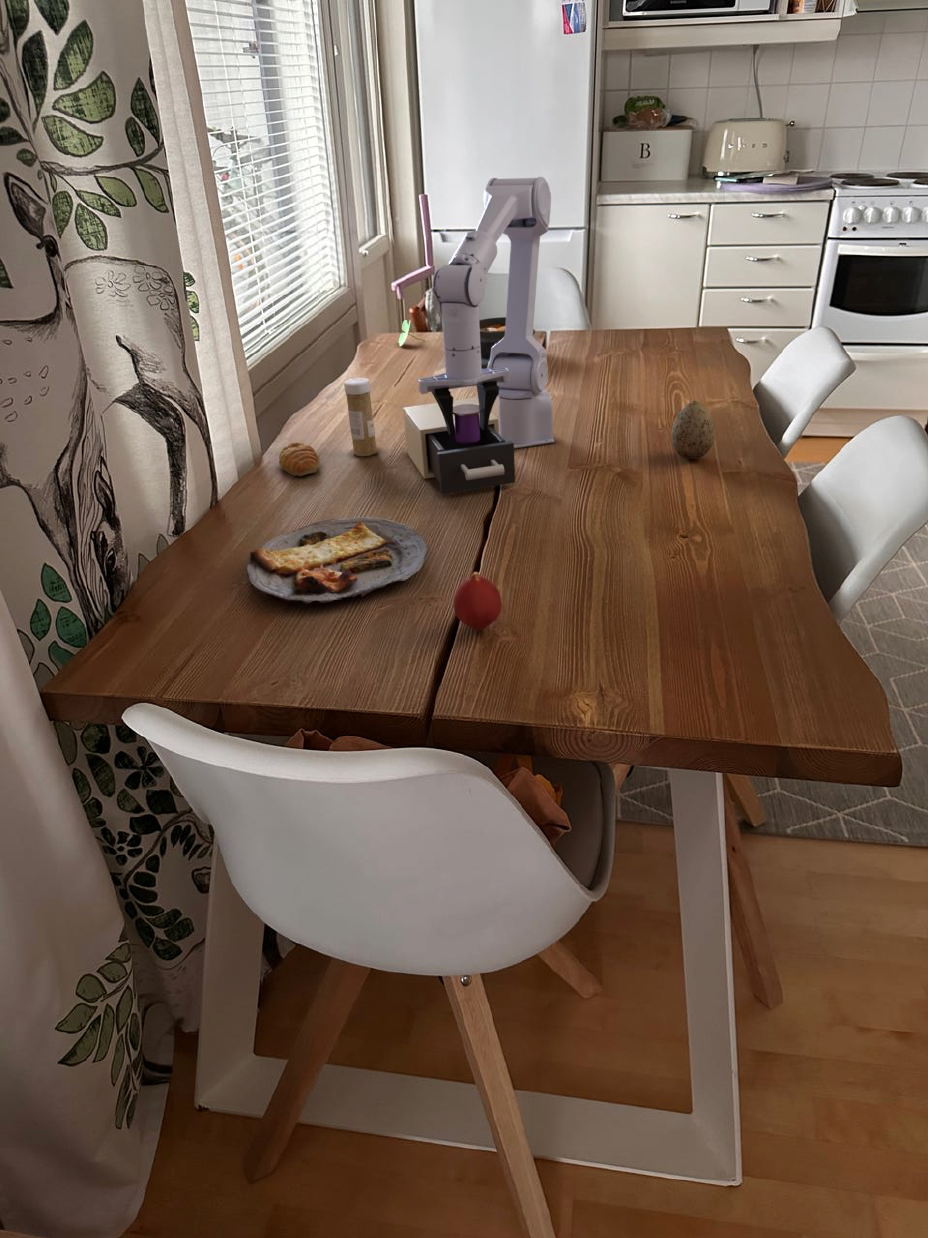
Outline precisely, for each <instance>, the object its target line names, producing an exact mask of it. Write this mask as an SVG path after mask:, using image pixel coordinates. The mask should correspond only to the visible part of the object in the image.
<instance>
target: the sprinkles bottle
mask: <svg viewBox="0 0 928 1238" xmlns="http://www.w3.org/2000/svg"><path fill="white" fill-rule="evenodd" d="M343 386H344V387H343V388H344V393H345V395H346V402H347V403H346V404H347V413H348V421H349V429H350V436H351V437H350V438H351V440H352V441H351V442H352V449H353V450H352V453H353V455H355V456H357V457H369V456H372V455H375V454H376V453H377V452H378V447H377V441H376V429H375V424H374V414H373V409H372V399H371V381H370V379H368V378H365V377H356V378H355V377H354V378H350V379H347V380H345V381H344V383H343Z"/></svg>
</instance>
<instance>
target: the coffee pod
mask: <svg viewBox="0 0 928 1238" xmlns="http://www.w3.org/2000/svg"><path fill="white" fill-rule="evenodd" d="M481 411H482V407H481V406H480V405H476V404H462V405H457V406H454V407H453V414H454V420H455V435H456V441H457V442H460V443H473V442H477V441H479V440H480V425H479V413H480V412H481Z"/></svg>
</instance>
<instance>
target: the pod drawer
mask: <svg viewBox="0 0 928 1238" xmlns="http://www.w3.org/2000/svg"><path fill="white" fill-rule="evenodd" d="M499 434H500V433H499ZM499 434H498V433H497V432H496V431H495V430H494V429H493V428H492V427H491V426H490V425H488V430H483V429H482V428H481V427H480V440H479V441H477V442H473V443H460V442H457V441H456V435H450V434H449V433H448V432H447V431H442V432H435V433H429V434H425V435H426V447H427V458H428V467H429V468H430V470H431V471H432V473H433V474H434V476H435V477H434V478H436V480H437V482H438V483H439V492H440V494H441V495H449V494H454V493H460V492H461V493H462V492H466V491H467V492H468V491H474V490H479V489H485V488H491V487H498V486H503V485H504V486H505V485H511V484H515V483H516V471H515V470H516V468H515V467H516V466H515V465H516V464H515V448H514V443H513V442H512V441H508V442H505V440H504V439H503V438H502V437H501V436H500V435H499Z"/></svg>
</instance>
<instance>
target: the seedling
mask: <svg viewBox="0 0 928 1238" xmlns="http://www.w3.org/2000/svg"><path fill="white" fill-rule="evenodd" d="M410 326H411V320H409V322H408V320H407V319H404V320H403V321H402V326H401V330H402V331H403V332H402V333H400V335H399V338H398V344H399V347H401V346H403V344H404V343H405V341H406V340H407V337H408V336H410V337H412V338H413V339H415V340H419V341H423V342H426V340H425V339H422V338H417V337H416V336H414V335H412V334H410V333H409V330H410Z"/></svg>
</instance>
